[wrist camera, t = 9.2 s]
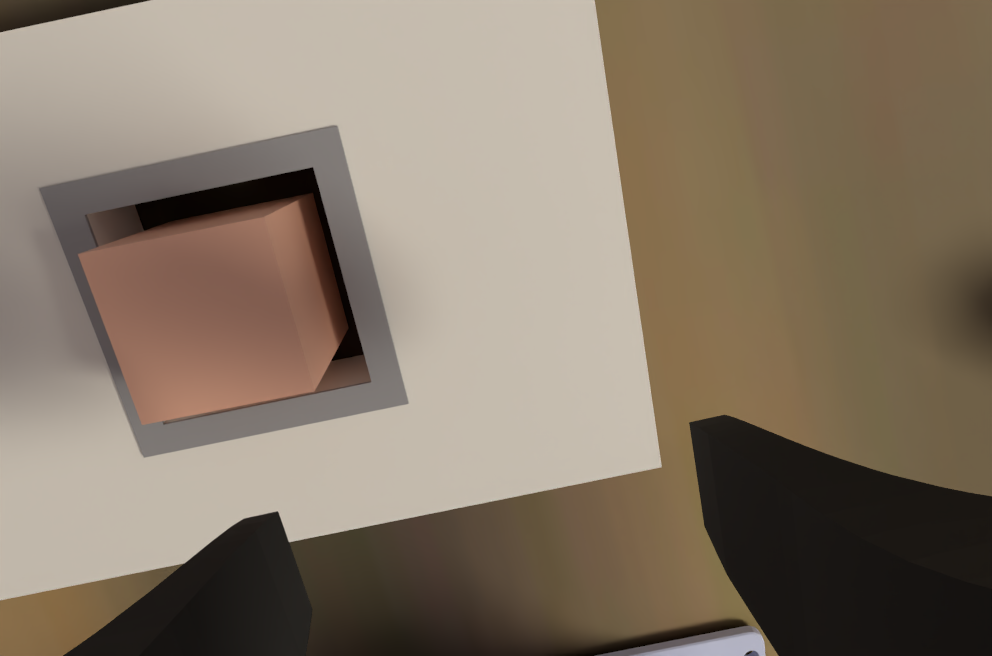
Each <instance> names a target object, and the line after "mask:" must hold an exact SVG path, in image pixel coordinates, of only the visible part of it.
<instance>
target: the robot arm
mask: <svg viewBox="0 0 992 656" xmlns="http://www.w3.org/2000/svg"><path fill="white" fill-rule="evenodd" d="M689 424H690V430H691V437H692V444H693V451H694V458H695V464H696V471H697V478H698V485H699V492H700V498H701V505H702V512H703V519H704V525H705V528H706V530H707V532H708V535H709V537H710V539H711V541H712V544H713V546H714V548H715V550H716V552H717V554H718V557H719V559H720V561H721V563H722V565H723V567H724V569H725V571H726V573H727V575H728V577H729V579H730V580H731V582H732V583H733V585H734V587H735V588H736V590H737V591H738V593H739V594H740V596H741V598H742V599H743V601H744V602H745V604H746V606H747V607H748V609H749V610H750V612H751V613H752V615H753V617H754V618H755V620H756V621H757V623H758V624H759V626H760V627H761V629H762V630H763V632H764V634H765V635H766V637H767V638H768V640H769V641H770V643H771V644H772V646H773V648H774V649H775V651H776V652H777V654H778V655H779V656H992V496H986V495H980V494H974V493H968V492H963V491H958V490H953V489H948V488H943V487H938V486H934V485H930V484H926V483H922V482H918V481H914V480H910V479H906V478H902V477H898V476H894V475H890V474H887V473H883V472H880V471H876V470H873V469H870V468H867V467H864V466H861V465H858V464H855V463H852V462H848V461H845V460H842V459H839V458H836V457H834V456H831V455H828V454H825V453H823V452H820V451H817V450H814V449H812V448H809V447H807V446H804V445H801V444H799V443H796V442H794V441H791V440H789V439H786V438H784V437H781V436H779V435H776V434H774V433H772V432H769V431H767V430H764V429H762V428H759V427H757V426H755V425H752V424H750V423H747V422H745V421H742V420H739V419H737V418H734V417H731V416H727V415H722V416H717V417H713V418H708V419H703V420H699V421H694V422H689ZM311 616H312V607H311V604H310V601H309V598H308V595H307V593H306V590H305V587H304V584H303V581H302V578H301V575H300V573H299V570H298V567H297V564H296V561H295V558H294V555H293V552H292V550H291V547H290V544H289V541H288V538H287V535H286V532H285V529H284V527H283V524H282V521H281V518H280V515H279V512H278V511H276V512H272V513H267V514H263V515H258V516H253V517H249V518H244V519H242V520H241V521H239V522H237V523H236V524H234V525H233V526H231V527H230V528H229V529H227V530H226V531H225V532H223V533H222V534H221V535H219V536H218V537H217V538H215V539H214V540H213V541H212V542H210V543H209V544H208V545H207V546H205V547H204V548H203V549H202V550H200V551H199V552H198V553H197V554H196V555H194V556H193V557H192V558H191V559H189V560H188V561H187V562H186V563H185V564H183V565H182V566H181V567H180V568H178V569H177V570H176V571H175V572H173V573H172V574H171V575H170V576H169V577H167V578H166V579H165V580H164V581H162V582H161V583H160V584H159V585H158V586H156V587H155V588H154V589H153V590H151V591H150V592H149V593H147V594H146V595H145V596H144V597H142V598H141V599H140V600H138V601H137V602H136V603H134V604H133V605H132V606H130V607H129V608H128V609H127V610H125V611H124V612H123V613H121V614H120V615H119V616H117V617H116V618H115V619H114V620H112V621H111V622H110V623H108V624H107V625H106V626H104V627H103V628H102V629H101V630H99V631H98V632H96V633H95V634H94V635H92V636H91V637H89V638H88V639H87V640H85V641H84V642H82V643H81V644H79V645H78V646H77V647H75V648H74V649H72V650H71V651H69V652H68V653H66V654H65V655H63V656H306V650H307V644H308V638H309V630H310V623H311ZM749 651H753V652H752V653H750V654H748V655H745V654H746V653H747V652H749ZM596 656H765V646H764V640H763V637H762V635H761V634H760V632H759V631H758V630H757V629H756V628H755V627H752V626H743V627H738V628H733V629H728V630H723V631H718V632H713V633H707V634H702V635H697V636H692V637H687V638H682V639H677V640H672V641H667V642H662V643H657V644H652V645H647V646H642V647H637V648H632V649H627V650H622V651H616V652H611V653H606V654H601V655H596Z"/></svg>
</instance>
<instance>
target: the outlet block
mask: <svg viewBox="0 0 992 656" xmlns="http://www.w3.org/2000/svg"><path fill="white" fill-rule="evenodd" d="M311 167H313V168H314V172H315V176H316V179H317V183H318V187H319V190H320V194H321V198H322V201H323V205H324V209H325V212H326V216H327V220H328V223H329V227H330V231H331V235H332V238H333V242H334V246H335V249H336V253H337V257H338V260H339V264H340V268H341V271H342V275H343V279H344V282H345V286H346V290H347V294H348V297H349V301H350V305H351V308H352V312H353V316H354V319H355V323H356V327H357V330H358V334H359V338H360V341H361V345H362V349H363V352H364V355H359V356H354V357H349V358H344V359H339V360H334V361H331V362H330V364H329V366H328V367H327V369H326V371H325V373H324V375H323V377H322V379H321V381H320V382H319V384H318V386H317V388H316V390H315V391H313V392H308V393H303V394H298V395H293V396H288V397H283V398H278V399H272V400H267V401H262V402H257V403H252V404H247V405H242V406H237V407H232V408H227V409H222V410H217V411H212V412H206V413H201V414H196V415H191V416H186V417H181V418H176V419H171V420H166V421H161V422H156V423H151V424H146V425H142V424H141V421H140V419H139V416H138V413H137V411H136V408H135V405H134V403H133V400H132V397H131V395H130V392H129V389H128V387H127V384H126V381H125V379H124V376H123V373H122V371H121V368H120V365H119V363H118V360H117V357H116V355H115V352H114V349H113V347H112V344H111V341H110V339H109V336H108V333H107V331H106V328H105V326H104V323H103V320H102V318H101V315H100V312H99V310H98V307H97V304H96V302H95V299H94V296H93V294H92V291H91V288H90V286H89V283H88V280H87V278H86V275H85V272H84V270H83V267H82V264H81V262H80V259H79V256H78V254H80V253H82V252H85V251H88V250H91V249H94V248H97V247H99V246H102V245H105V244H108V243H111V242H114V241H116V240H119V239H122V238H125V237H128V236H131V235H133V234H136V233H139V232H142V231H144V230H143V227H142V224H141V221H140V218H139V215H138V213H137V210H136V207H135V204H139V203H144V202H149V201H153V200H158V199H163V198H168V197H173V196H177V195H182V194H187V193H192V192H197V191H201V190H206V189H211V188H216V187H220V186H225V185H230V184H235V183H240V182H244V181H249V180H254V179H259V178H264V177H268V176H273V175H278V174H283V173H288V172H292V171H297V170H302V169H307V168H311ZM660 467H662V466H661V459H660V452H659V445H658V438H657V431H656V424H655V418H654V411H653V404H652V397H651V390H650V383H649V376H648V369H647V362H646V355H645V348H644V341H643V334H642V327H641V320H640V313H639V306H638V299H637V293H636V286H635V279H634V272H633V265H632V258H631V251H630V244H629V237H628V230H627V223H626V216H625V209H624V202H623V195H622V188H621V181H620V174H619V167H618V161H617V154H616V147H615V140H614V133H613V126H612V119H611V112H610V105H609V98H608V91H607V84H606V77H605V70H604V63H603V56H602V49H601V42H600V36H599V29H598V22H597V15H596V8H595V1H594V0H150V1H145V2H141V3H136V4H131V5H127V6H122V7H117V8H113V9H108V10H103V11H99V12H94V13H89V14H84V15H80V16H75V17H70V18H66V19H61V20H56V21H52V22H47V23H42V24H37V25H33V26H28V27H23V28H19V29H14V30H9V31H5V32H0V600H4V599H9V598H14V597H19V596H24V595H29V594H34V593H39V592H44V591H49V590H54V589H59V588H64V587H69V586H74V585H79V584H83V583H88V582H93V581H98V580H103V579H108V578H113V577H118V576H123V575H128V574H133V573H138V572H143V571H148V570H153V569H158V568H163V567H168V566H173V565H178V564H183V563H186V562H187V561H188V560H189V559H191V558H192V557H193V556H194V555H196V554H197V553H198V552H199V551H200V550H202V549H203V548H204V547H205V546H207V545H208V544H209V543H210V542H212V541H213V540H214V539H215V538H217V537H218V536H219V535H221V534H222V533H223V532H225V531H226V530H227V529H229V528H230V527H231V526H233V525H234V524H236V523H237V522H239V521H241V520H242V519H244V518H249V517H253V516H258V515H263V514H267V513H272V512H276V511H278V512H279V515H280V518H281V521H282V524H283V527H284V529H285V532H286V535H287V538H288V541H289V542H292V541H297V540H302V539H307V538H312V537H317V536H322V535H327V534H332V533H337V532H342V531H347V530H352V529H357V528H362V527H367V526H372V525H377V524H382V523H386V522H391V521H396V520H401V519H406V518H411V517H416V516H421V515H426V514H431V513H436V512H441V511H446V510H451V509H456V508H461V507H466V506H471V505H476V504H481V503H486V502H491V501H496V500H501V499H506V498H511V497H516V496H521V495H526V494H531V493H536V492H540V491H545V490H550V489H555V488H560V487H565V486H570V485H575V484H580V483H585V482H590V481H595V480H600V479H605V478H610V477H615V476H620V475H625V474H630V473H635V472H640V471H645V470H650V469H655V468H660Z"/></svg>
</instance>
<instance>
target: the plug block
mask: <svg viewBox="0 0 992 656" xmlns="http://www.w3.org/2000/svg"><path fill="white" fill-rule="evenodd" d="M78 256H79V259H80V262H81V264H82V267H83V270H84V272H85V275H86V278H87V280H88V283H89V286H90V288H91V291H92V294H93V296H94V299H95V302H96V304H97V307H98V310H99V312H100V315H101V318H102V320H103V323H104V326H105V328H106V331H107V333H108V336H109V339H110V341H111V344H112V347H113V349H114V352H115V355H116V357H117V360H118V363H119V365H120V368H121V371H122V373H123V376H124V379H125V381H126V384H127V387H128V389H129V392H130V395H131V397H132V400H133V403H134V405H135V408H136V411H137V413H138V416H139V419H140V421H141V424H142V425H146V424H151V423H156V422H161V421H166V420H171V419H176V418H181V417H186V416H191V415H196V414H201V413H206V412H212V411H217V410H222V409H227V408H232V407H237V406H242V405H247V404H252V403H257V402H262V401H267V400H272V399H278V398H283V397H288V396H293V395H298V394H303V393H308V392H313V391H315V390H316V388H317V386H318V384H319V382H320V381H321V379H322V377H323V375H324V373H325V371H326V369H327V367H328V366H329V364H330V362H331V360H332V358H333V356H334V354H335V353H336V351H337V349H338V347H339V345H340V343H341V341H342V340H343V338H344V336H345V334H346V332H347V330H348V328H349V327H348V323H347V319H346V316H345V312H344V308H343V304H342V301H341V297H340V293H339V289H338V286H337V282H336V278H335V274H334V271H333V267H332V263H331V259H330V255H329V252H328V248H327V244H326V240H325V237H324V233H323V229H322V225H321V222H320V218H319V214H318V210H317V207H316V203H315V199H314V195H313V193H309V194H304V195H299V196H294V197H289V198H284V199H279V200H274V201H269V202H264V203H259V204H254V205H249V206H244V207H239V208H234V209H229V210H224V211H219V212H214V213H209V214H204V215H199V216H194V217H189V218H184V219H179V220H174V221H170V222H167V223H165V224H162V225H159V226H156V227H153V228H150V229H148V230H145V231H142V232H139V233H136V234H133V235H131V236H128V237H125V238H122V239H119V240H116V241H114V242H111V243H108V244H105V245H102V246H99V247H97V248H94V249H91V250H88V251H85V252H82V253H80V254H78Z"/></svg>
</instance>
